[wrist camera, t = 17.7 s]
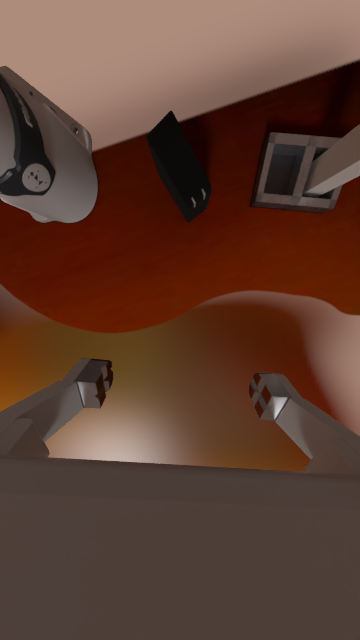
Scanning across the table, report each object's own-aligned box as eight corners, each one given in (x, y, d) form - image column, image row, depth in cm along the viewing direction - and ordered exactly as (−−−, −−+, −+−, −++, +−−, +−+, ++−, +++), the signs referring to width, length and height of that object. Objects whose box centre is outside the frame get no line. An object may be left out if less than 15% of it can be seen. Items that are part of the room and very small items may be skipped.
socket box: (321, 213, 30) (333, 208, 28) (249, 206, 30) (255, 201, 28) (342, 151, 27) (358, 139, 24) (262, 144, 27) (270, 132, 25)
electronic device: (176, 156, 29) (170, 105, 19) (206, 209, 31) (213, 187, 22) (158, 173, 30) (143, 133, 20) (188, 224, 32) (187, 208, 23)
